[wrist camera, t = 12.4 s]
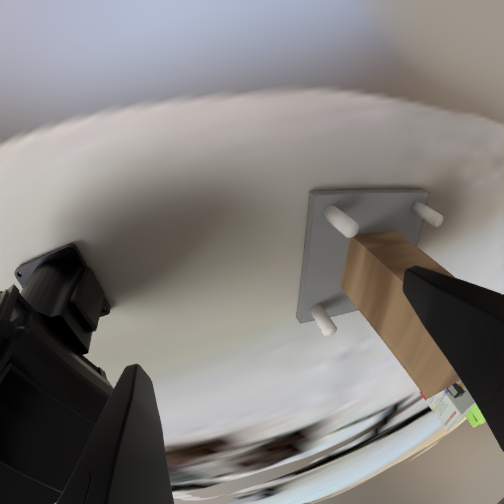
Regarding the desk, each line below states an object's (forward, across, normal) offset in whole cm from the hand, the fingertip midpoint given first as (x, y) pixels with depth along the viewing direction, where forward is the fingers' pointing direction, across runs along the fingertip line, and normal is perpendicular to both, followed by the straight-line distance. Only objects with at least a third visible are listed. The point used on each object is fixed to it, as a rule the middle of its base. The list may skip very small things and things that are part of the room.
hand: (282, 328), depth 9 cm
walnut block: (+12, -11, +9) cm, 19 cm away
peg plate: (+13, -11, +9) cm, 19 cm away
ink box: (+13, -31, +48) cm, 59 cm away
